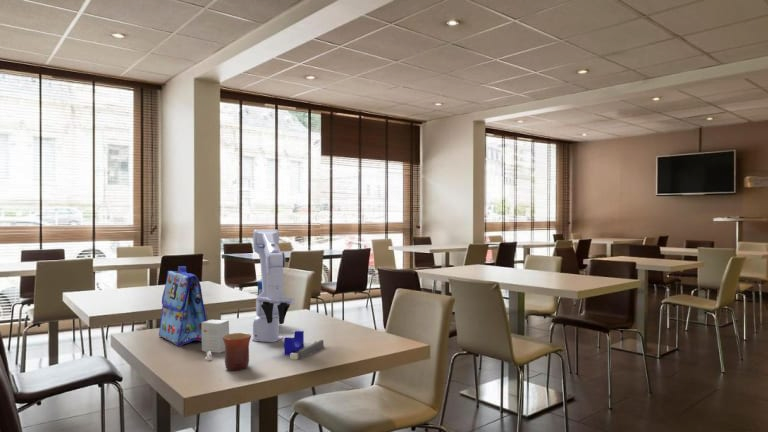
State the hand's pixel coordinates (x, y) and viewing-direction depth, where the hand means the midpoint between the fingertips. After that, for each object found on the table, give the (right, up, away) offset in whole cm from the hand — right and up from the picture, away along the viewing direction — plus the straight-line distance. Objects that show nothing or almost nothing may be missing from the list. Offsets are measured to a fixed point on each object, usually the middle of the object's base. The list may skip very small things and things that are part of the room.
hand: (275, 323), depth 188 cm
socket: (+13, -9, -4) cm, 16 cm away
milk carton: (-12, -10, +40) cm, 43 cm away
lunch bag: (-40, -10, +17) cm, 44 cm away
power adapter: (-21, -10, -14) cm, 27 cm away
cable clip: (+6, -10, -2) cm, 12 cm away
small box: (-22, -10, -1) cm, 24 cm away
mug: (-8, -10, -22) cm, 25 cm away
